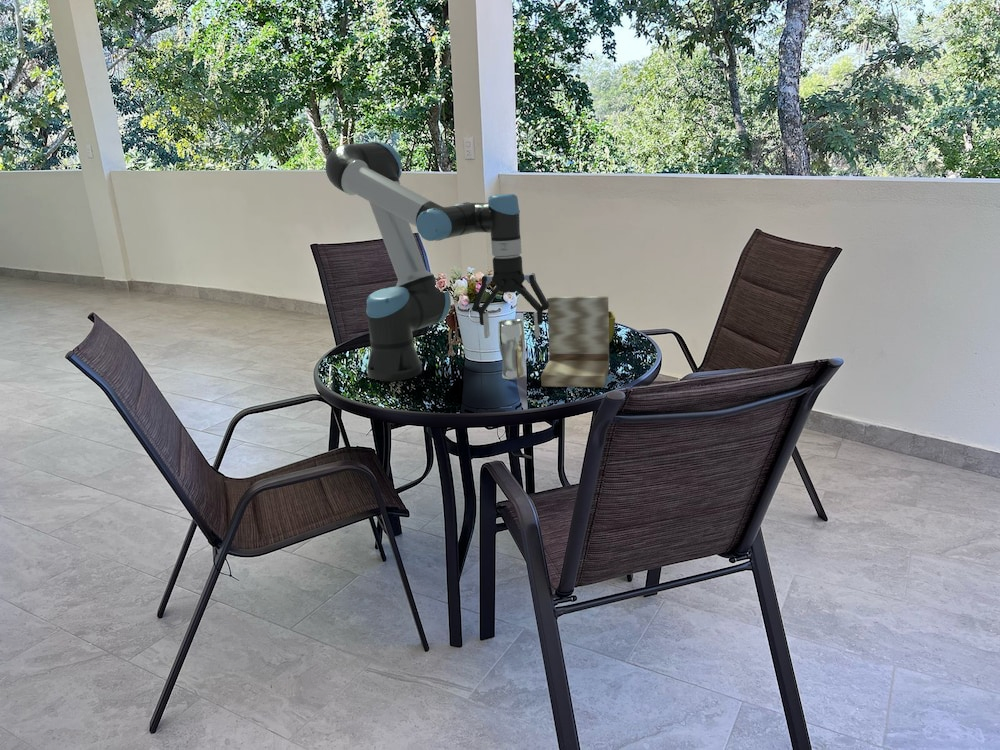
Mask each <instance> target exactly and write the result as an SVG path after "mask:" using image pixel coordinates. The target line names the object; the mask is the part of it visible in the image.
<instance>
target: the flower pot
mask: <svg viewBox="0 0 1000 750" xmlns="http://www.w3.org/2000/svg"><path fill="white" fill-rule="evenodd" d="M615 325H616V316H615V314H614V313H613V311H612V310H609V344H610V343H611V342H612V339H613V336H614V334H615V333H614V332H615Z"/></svg>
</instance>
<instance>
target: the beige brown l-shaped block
mask: <svg viewBox="0 0 1000 750" xmlns="http://www.w3.org/2000/svg"><path fill="white" fill-rule="evenodd" d="M546 300H547V302H548V303H549V308H548V309H547V324H548V325H547V326H548V327H547V328H548V351H549V353H548V362H547V364H546V365H545V367H544V369H543V371H542V373H541V375H540V381H541V383H540V384H541V387H557V388H558V387H561V388H562V387H563V388H564V387H567V388H568V387H569V388H572V387H573V388H605V387H604V386H606V383H607V379H608V376H609V371H610V343H609V311H610V310H609V295H608V296H607V295H605V296H604V295H603V296H602V295H601V296H597V295H596V296H595V295H594V296H591V295H590V296H547V298H546Z"/></svg>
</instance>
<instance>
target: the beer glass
mask: <svg viewBox="0 0 1000 750" xmlns="http://www.w3.org/2000/svg"><path fill="white" fill-rule="evenodd" d="M497 340H498V347H499V351H500V355H501V360H502V373H501V377H502V379H504V380H510V381H513V380H520V379H523V378H524V377H525V371H524V366H523V365H524V363H523V359H524V358H523V357H524V350H525V342H526V341H525V329H524V321H523V320H522V319H518V318H513V319H512V318H510V319H509V318H508V319H503V320H502V319H501V320H500V321H498V322H497Z"/></svg>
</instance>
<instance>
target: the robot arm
mask: <svg viewBox="0 0 1000 750" xmlns="http://www.w3.org/2000/svg"><path fill="white" fill-rule="evenodd" d="M402 169H403V165H402V159H401V157H400V155H399V153H398V152H397V150H396V149H395V148H394V147H393V146H391V145H390V144H388V143H384V142H376V141H371V142H365V143H364V142H363V143H348V144H347V143H345V144H344V143H343V144H341V145H338V146H337V147H335V148H333V149H332V150H331V152H330V153H329V154H328V156H327V158H326V161H325V173H326V176H327V179H328V180H329V182H331V184H332V185H333V186H334V187H335V188H337V189H338V190H339V191H341V192H343V193H345V194H347V195H348V196H356V195H357V196H358V197H361V198H363V199H364V200H366V201H368V203H369V204H370V207H371V210H372V214H373V216H374V218H375V221H376V224H377V227H378V229H379V233H380V235H381V238H382V240H383V243H384V245H385V248H386V251H387V255H388V257H389V259H390V262H391V265H392V268H393V270H394V273H395V275H396V278H397V282H396V284H395V286H391V287H387V288H385V287H384V288H381V289H379V290H378V289H377V290H375V291H374V292H371V293H370V294H369V295H368V296H367V298H366V311H365V312H366V316H367V323H368V332H369V341H370V352H369V353H370V354H369V358H368V362H367V367H366V369H367V377H368V379H370V378H372V379H375V380H374V381H376V380H380V381H379V382H397V381H404V380H409V379H412V378H415V377H417V376H419V375H421V374H422V372H423V368H422V366H423V365H422V362H421V360H420V357H419V355H418V353H417V350H416V348H415V346H414V339H413V332H414V331H417V330H421V329H423V328H426V327H429V326H434V325H436V324H438V323H440V322H442V321H443V320H445V319H446V318H447V316H448V315H449V312H450V309H451V304H452V302H451V301H452V300H451V296H450V291H449V290H448V291H447V292H445V293H442V292H440V291H439V290H438V289H437V288H436V287H435V285H436V282H437V281H436V278H435V275H434V273H433V272H430V271H428V270H427V268H426V266H425V262H424V261H423V258H422V254H421V251H420V250H419V247H418V244H417V241H416V239H415V238H416V237H415V235H414V233H413V230H412V227H411V225H412V226H414V227H415V228H416V229H417V233H418V234H419V235H420V236H421V238H422V239H423V240H426V241H428V242H429V241H430V242H432V241H436V242H437V241H442V240H446V239H449V238H454V237H459V236H465V235H469V234H474V233H490V239H491V243H490V244H491V255H492V256H493V257H492V270H493V274H492V275H491V276H490V275H488V274H484V275H483V276H482V277H481V282H480V283H481V284H480V287H479V290H478V292H477V295H476V298H475V299H474V302H473V304H472V307H471V311H472V312H477V313H478V315H479V316H478V317H479V325H480V326H483V333H484V339H488V338H489V337H490V335H491V333H490V323H489V321H490V320H489V311H486V310H487V308H488V307H489V306H490V304H491V303H492V302H493V301H494V299H495V298H496V296H497V295H498V294H499V292H502V293H503V294H507V293H511V294H512V293H515V292H518V294H520V295H521V296H522V297H523V298H524V299H525V301H526V302H528V304H530V305H531V307H532V308H533V310H535V311H534V313H533V319H534V320H533V321H534V335H535V336H534V337H535V338H540V336H541V334H540V333H541V331H540V325H542V324H543V322H544V311H548V308H549V303H548V302H547V298H546V297H545V294H544V293H543V291H542V289H541V288H540V286H539V284H538V282H537V279H536V274H535V273H533V272H532V273H531V274H526V275H524V272H523V258H522V256H521V254H522V252H523V251H522V241H521V238H522V237H521V226H520V224H521V223H520V221H521V219H520V212H521V211H520V207H519V200H518V195H516V194H515V193H498V194H492V195H490V196H489V197H488V201H487V202H469V201H467V202H466V201H465V202H462V203H461V202H460V203H456V204H455V205H452V206H451V205H450V206H442V205H440V204H438V203H436V202H434V201H432V200H430V199H428V198H426V197H425V196H422V195H421V194H419V193H417V192H415V191H413V190H411V189H409V188H407V187H405V186H403V185H401V182H400V178H401V176H402V172H403V171H401V170H402ZM524 281H526V282H527V284H529V286H530V287H531V289H532V291H533V292H534V294H535V296H536V298H537V299H538V300H536V298H535V297H534V296H533V295H532V294H531V293H530V292H529V291H528V289H527V288H526V287H525V286H524V284H523V283H524ZM491 282H492V283H493V284H494V285H495V288H494V289H493V290H492V292H490V295H489V296H488V297H487V298H486V300H485V301H484V302H483V304H482V305H481V306H480V304H481V302H482V301H483V297H484V295H485V293H486V290H487V288H488V285H489V284H491ZM372 379H371V380H372Z"/></svg>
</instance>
